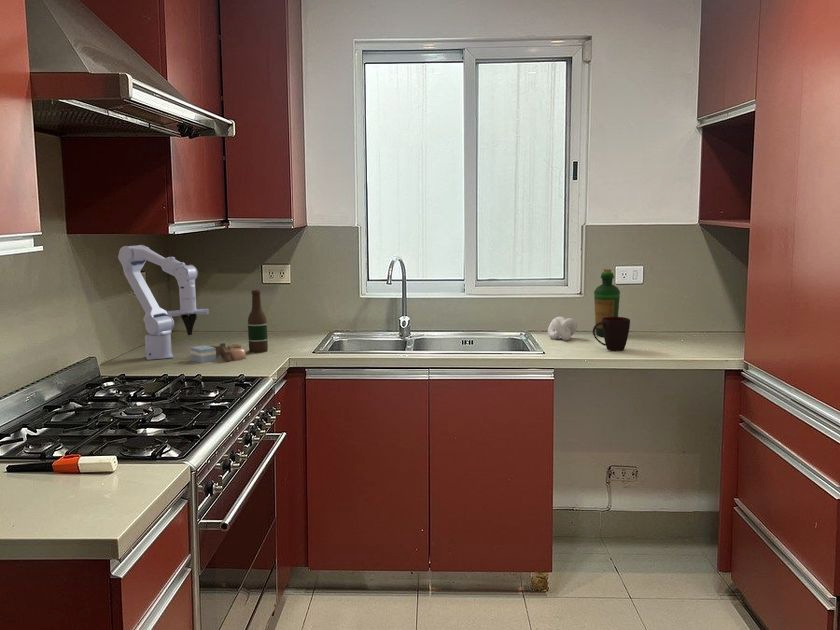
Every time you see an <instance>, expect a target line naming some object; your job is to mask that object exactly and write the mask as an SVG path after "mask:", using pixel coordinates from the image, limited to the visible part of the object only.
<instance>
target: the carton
mask: <svg viewBox="0 0 840 630" xmlns="http://www.w3.org/2000/svg"><path fill="white" fill-rule="evenodd" d="M210 346H211V345H210ZM210 346H209V345H207V344H206V345H205V344H204V345H196V346H191V347H190V349H189V350H190V360H191V361H193V362H195V363H196V362H197V363H200V364H204V363H211V362H216V361H217V356H216V348H214V347H210Z"/></svg>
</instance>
